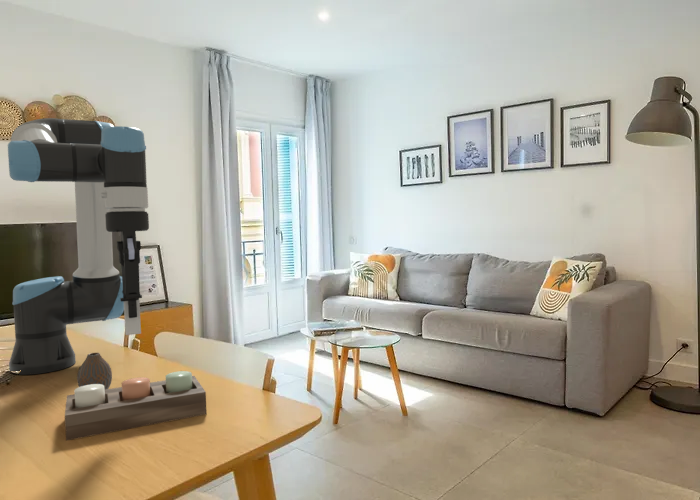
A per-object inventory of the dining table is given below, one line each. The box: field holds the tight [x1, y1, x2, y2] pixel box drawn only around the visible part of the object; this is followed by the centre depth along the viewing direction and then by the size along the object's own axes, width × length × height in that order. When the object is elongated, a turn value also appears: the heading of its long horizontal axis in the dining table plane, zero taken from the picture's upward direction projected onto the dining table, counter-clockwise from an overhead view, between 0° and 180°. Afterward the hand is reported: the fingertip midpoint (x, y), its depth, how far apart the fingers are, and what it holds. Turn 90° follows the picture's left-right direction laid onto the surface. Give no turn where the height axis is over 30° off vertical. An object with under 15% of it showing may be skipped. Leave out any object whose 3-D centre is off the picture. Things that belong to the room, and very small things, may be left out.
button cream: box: [73, 384, 105, 408], centre depth 98 cm, size 5×5×4 cm
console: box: [64, 375, 208, 441], centre depth 101 cm, size 12×24×4 cm, turn 117°
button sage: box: [165, 370, 193, 393], centre depth 105 cm, size 5×5×4 cm
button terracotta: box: [121, 376, 151, 401], centre depth 101 cm, size 5×5×4 cm
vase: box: [76, 352, 113, 390], centre depth 116 cm, size 7×7×9 cm
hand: (133, 333), depth 101 cm, fingers closed
